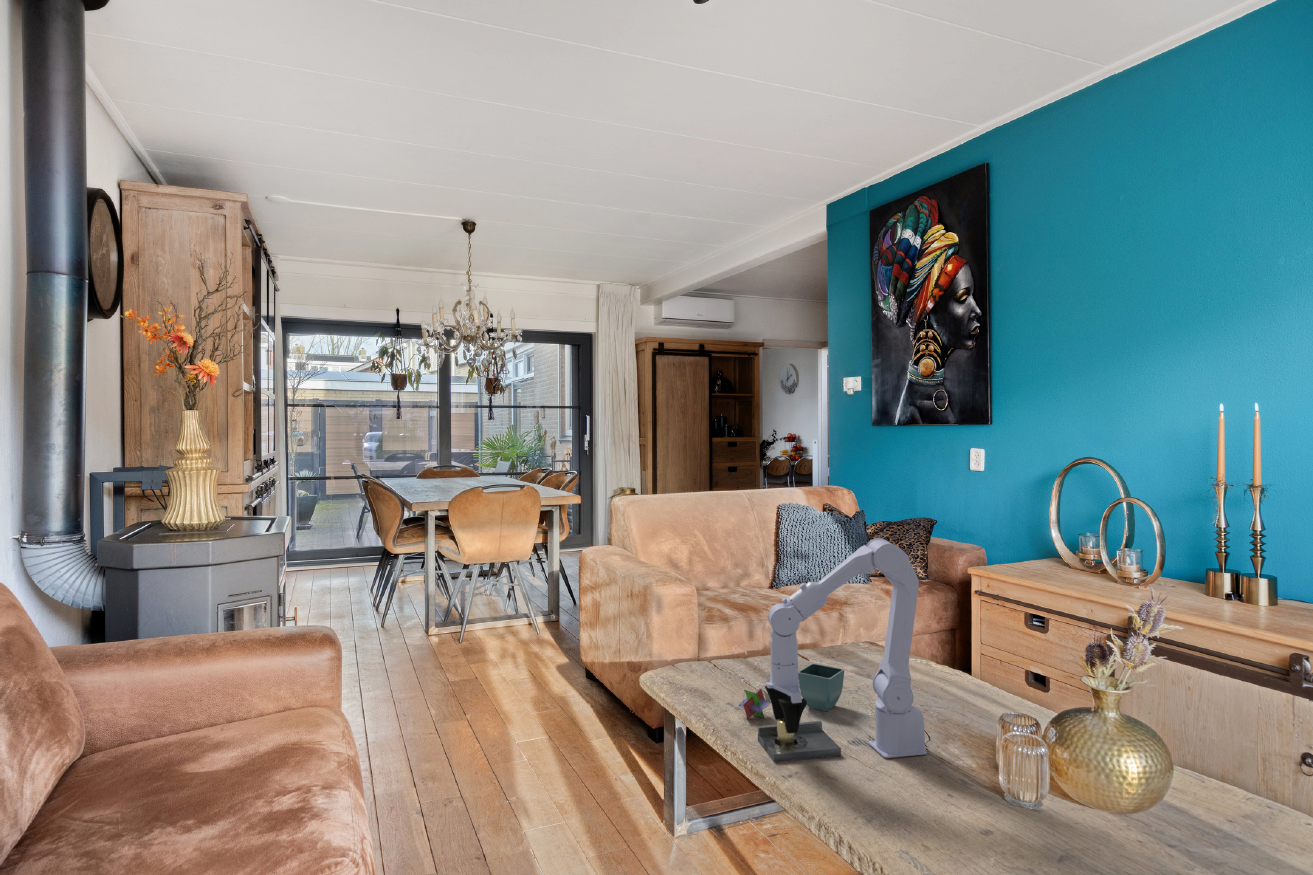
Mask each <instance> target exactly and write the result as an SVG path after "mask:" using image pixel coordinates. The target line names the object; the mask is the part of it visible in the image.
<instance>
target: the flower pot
mask: <svg viewBox="0 0 1313 875" xmlns="http://www.w3.org/2000/svg"><path fill="white" fill-rule="evenodd" d="M844 678H845V669H844V668H840V667H833V666H828V665H824V664H819V663H813V662H812V663H810V664H808V665H807V666H805V667H804V668H802V669H801V670H798V681H799V683H800V692H801V693H802V699H805V700H806V701H807V705H806V707H807V708H810V709H811V708H812V709H815V710H819V711H824V712H825V711H826V712H828V711H829V710H831V709H833V708H834V707H835V706H836V705H837V703H838V701H839V700H840V698H841V694H842V692H843V687H844Z"/></svg>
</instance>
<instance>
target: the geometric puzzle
mask: <svg viewBox="0 0 1313 875" xmlns="http://www.w3.org/2000/svg"><path fill="white" fill-rule="evenodd" d="M743 690H744V691H743V693H744V694H745V695H746V698H744V699H743V701H741V702H739V703H738V706H739V707H741V708H740V709H741V711H742V713H744V714H745V716H746V720H751V719H752V718H754V717H755V716H757V715H758V716H757V717H760V719H766V716H765V713H764V712H763V711H764V710H765V709H766V708H767V707H768V706H770V704H771V701H770V698H769V695H768V693H767V691H765V690H764V689H763V688H758V690H757V691H755V692H753V691H750V689H748V690H747V689H743ZM744 694H743V695H742V696H741V697H744ZM742 709H744V711H745V712H744V711H743V710H742Z"/></svg>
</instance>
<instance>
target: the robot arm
mask: <svg viewBox="0 0 1313 875" xmlns="http://www.w3.org/2000/svg"><path fill="white" fill-rule="evenodd" d="M875 569H877V570H878V571H879V572H881V573H882V574H883V575H884V577H885V578H886V579H887V580H888V582H890V584H891V585H892V590H891V595H890V596H891V597H890V605H889V612H888V620H887V621H888V622H887V628H886V629H887V630H886V636H885V645H884V652H883V658H882V659H881V661H880V663H879V665H878V670H877V672H876V674H875V675H874V676H873V679H872V689H873V691H874V692H875V694H877V698H876V701H875V702H874V710H875V711H874V712H875V715H874V717H875V719H874V721H875V740H869V741H868V745H869V746H871V748H873V749H874V750H875V751H876V752H877V753H879V755H881V757H883V758H885V759H890V758H891V759H892V758H894V759H895V758H900V757H901V758H902V757H903V758H904V757H911V756H912V757H913V756H922V755H923V756H924V755H927V754H928V753H927V751H926V745H925V744H926V742H925V740H926V738H925V736H926V735H925V731H926V730H925V718H924V716H923V713H922V711H921V709H920V708H919V707H918V706H917V705H914V704H913V703H914V693H913V690H912V685H911V683H912V682H911V681H912V676H911V672H910V667H909V665H910V664H909V663H910V655H911V647H912V640H913V633H914V624H915V618H916V609H917V600H918V593H919V587H920V581H919V578H918V575H917V574H916V571H915V570H914V568H913V565H912V564H911V561H910V557H909V555H908V554H907V553H906V552H905V551H904V550H903V549H901V548H900V547H899V546H898V545H896V544H894V543H891V542H890V541H888V540H887V539H884V538H881V537H877V538H873V539H870V540H869V541H868V542H867V543H866V545H865V544H863V545H861V546H860V547H859V548H857V549H856V550H855V551H854V552H853V553H852V554H851V555H849V556H848V557H847V558H846V559H845V560H843V561H842V562H841V563H840V564H839V565H837V566H836V567H835V568H834V569H832V570H831V571H830V572H829V573H828V574H826V575H825V576H824V577H823V578H822V579H821V580H819V581H818V582H817V581H815V582H814V581H808V582H807V583H805V582H802V583H800V585H799V586H798V587H799V588H798V589H797V591H796V590H795V592H794V593H793V594H791V595H790V596H788V597H787V598H786V597H783V598H782V599H781V603H776V604H774V605H773V606H772V607H771V608H770V610H769V613H768V615H767V619H768V622H769V624H770V626H771V627H770V641H769V644H770V672H769V681H767V682H765V685H764V689H765V690H766V691H765V692H766V693H767V694H768V695H769V698H770V702H771V703H770V704H771V708H772V713H773V716H774V719H775V720H776V721H777V720H778V719H781V718H784V719H785V726H786V730H787V733H797V732H798V728H799V723H801V717H802V715H803V712H804V710H805V708H806V707H807V701H806V700H805V699H803V697H802V693H801V692H800V683H799V679H798V671H799V656H798V654H799V653H798V652H799V651H798V650H799V649H798V648H799V646H798V640H797V631H798V630H799V627H800V624H801V622H804V621H806V620H807V619H808V618H809V617H811V616H812V615H814V614H815V613H816V612H818V611H819V610H820V609H822V608H823V607H824V606H825V605H827V604H828V598H829V595H830V594H832V593H833V592H834V591H836V590H838V589H839V588H841V587H842V586H843V585H845V584H847V582H849V581H851V580H852V579H853V578H855V577H857V576H858V575H869V574H871V575H872V574H873V575H874V574H876V572H875Z"/></svg>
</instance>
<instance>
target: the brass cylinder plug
mask: <svg viewBox="0 0 1313 875" xmlns="http://www.w3.org/2000/svg"><path fill="white" fill-rule="evenodd" d="M776 725H777V740H778V745H779V746H784V747H791V746H795V733H787V730H786V726H785V719H784V718H781V719H778V720H776Z"/></svg>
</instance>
